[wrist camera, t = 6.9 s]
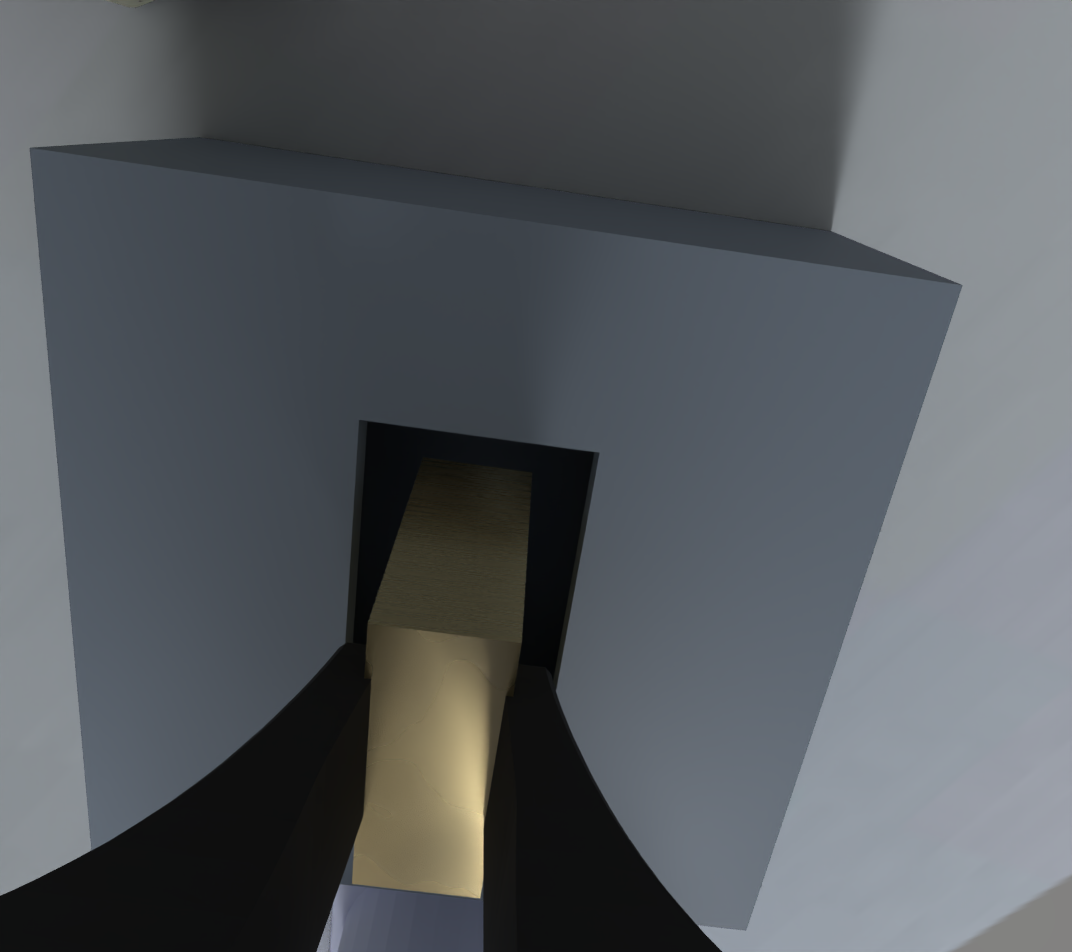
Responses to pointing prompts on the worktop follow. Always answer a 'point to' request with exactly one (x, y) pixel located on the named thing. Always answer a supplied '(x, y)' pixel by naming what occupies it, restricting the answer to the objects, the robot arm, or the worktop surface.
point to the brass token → (442, 676)
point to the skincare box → (131, 2)
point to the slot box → (468, 460)
